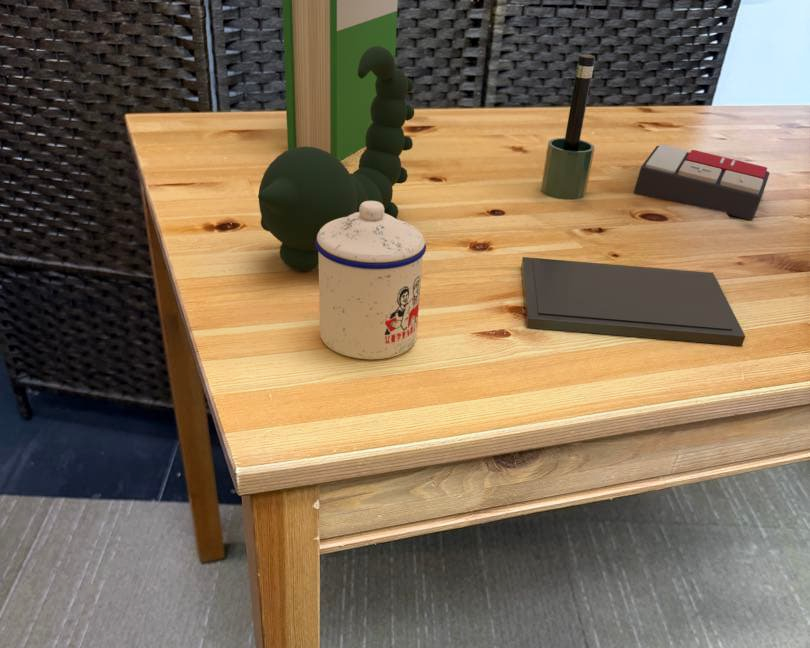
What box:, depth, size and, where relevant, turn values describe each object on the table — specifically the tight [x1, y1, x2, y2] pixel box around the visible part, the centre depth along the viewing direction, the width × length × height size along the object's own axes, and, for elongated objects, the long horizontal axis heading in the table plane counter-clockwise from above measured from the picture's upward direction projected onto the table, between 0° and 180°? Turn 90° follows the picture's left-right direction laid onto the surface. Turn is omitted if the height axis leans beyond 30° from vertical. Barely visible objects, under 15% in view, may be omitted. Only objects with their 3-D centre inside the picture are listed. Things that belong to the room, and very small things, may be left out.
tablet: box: [521, 256, 746, 347], centre depth 80 cm, size 20×14×1 cm
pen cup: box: [540, 137, 596, 201], centre depth 101 cm, size 6×6×6 cm
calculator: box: [633, 143, 771, 221], centre depth 104 cm, size 11×4×15 cm
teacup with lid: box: [315, 201, 427, 360], centre depth 70 cm, size 12×9×12 cm
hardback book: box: [281, 0, 399, 162], centre depth 107 cm, size 18×7×24 cm, turn 156°
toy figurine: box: [257, 46, 415, 272], centre depth 81 cm, size 9×19×25 cm
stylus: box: [563, 53, 596, 151], centre depth 98 cm, size 2×2×15 cm
